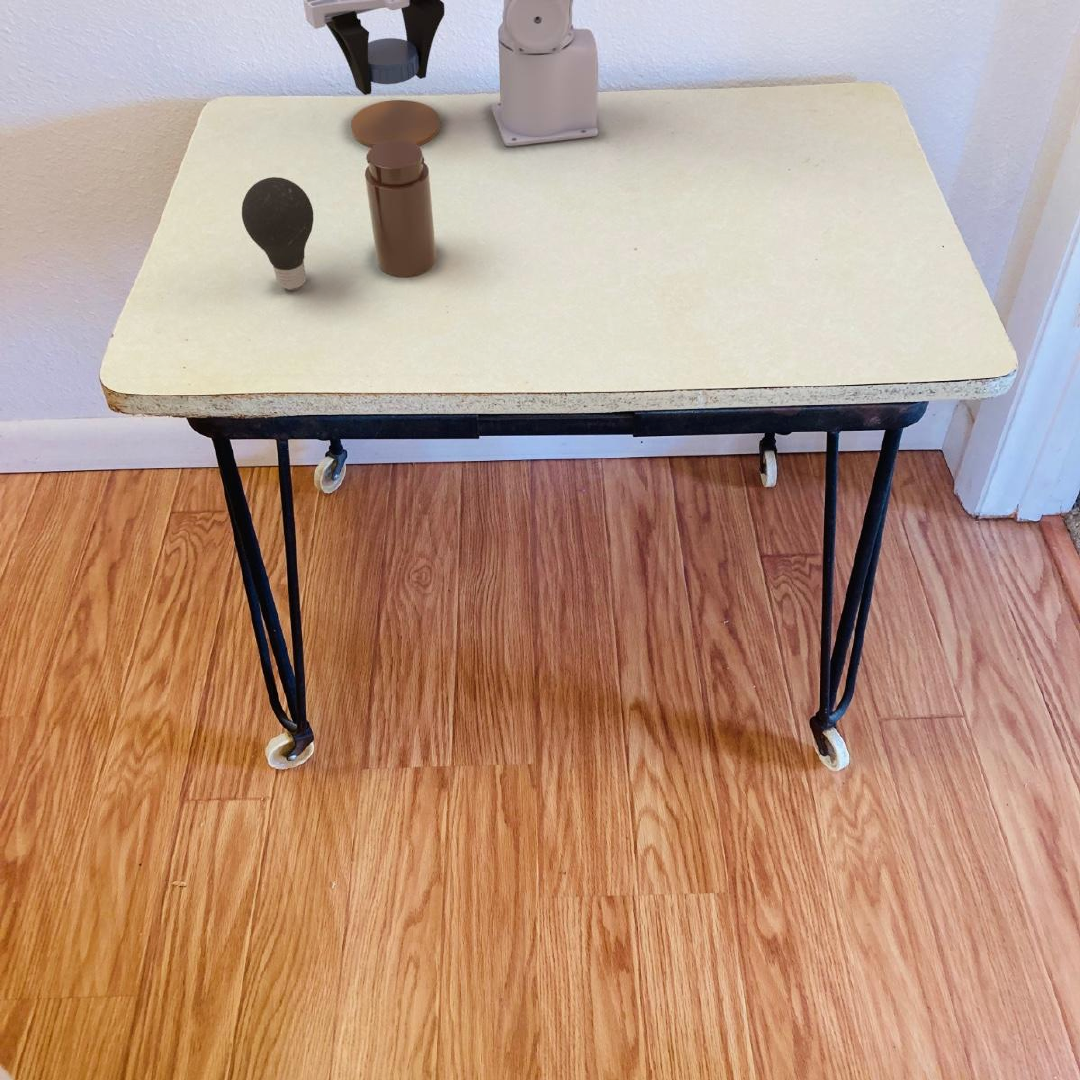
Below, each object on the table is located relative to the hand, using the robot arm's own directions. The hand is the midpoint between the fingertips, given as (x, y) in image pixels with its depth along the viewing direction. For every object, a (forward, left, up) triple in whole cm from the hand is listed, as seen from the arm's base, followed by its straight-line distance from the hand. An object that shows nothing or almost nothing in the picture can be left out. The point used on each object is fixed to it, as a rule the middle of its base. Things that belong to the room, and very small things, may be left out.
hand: (390, 82), depth 106 cm
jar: (+2, +23, -5) cm, 23 cm away
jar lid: (0, 0, +3) cm, 3 cm away
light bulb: (+12, +25, -5) cm, 28 cm away
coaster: (0, 0, -5) cm, 5 cm away
